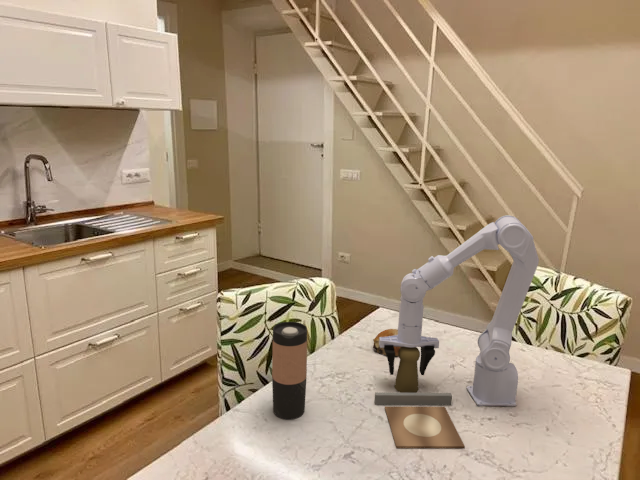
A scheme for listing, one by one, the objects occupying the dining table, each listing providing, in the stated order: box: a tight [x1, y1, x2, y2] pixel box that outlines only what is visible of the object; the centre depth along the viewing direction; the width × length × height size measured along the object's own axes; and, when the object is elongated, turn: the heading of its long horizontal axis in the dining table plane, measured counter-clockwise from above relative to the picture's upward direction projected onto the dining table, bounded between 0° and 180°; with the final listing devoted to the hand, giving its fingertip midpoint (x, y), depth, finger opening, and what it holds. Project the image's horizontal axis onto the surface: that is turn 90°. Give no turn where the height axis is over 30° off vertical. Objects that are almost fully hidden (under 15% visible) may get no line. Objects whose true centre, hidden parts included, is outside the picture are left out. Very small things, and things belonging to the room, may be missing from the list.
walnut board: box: [384, 405, 466, 449], centre depth 102 cm, size 14×14×1 cm
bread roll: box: [372, 328, 400, 357], centre depth 138 cm, size 10×10×8 cm
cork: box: [394, 346, 421, 393], centre depth 117 cm, size 6×6×11 cm
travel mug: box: [271, 321, 308, 420], centre depth 105 cm, size 8×8×20 cm
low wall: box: [374, 391, 453, 406], centre depth 111 cm, size 18×1×2 cm, turn 92°
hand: (406, 373), depth 118 cm, fingers open, 7 cm apart
